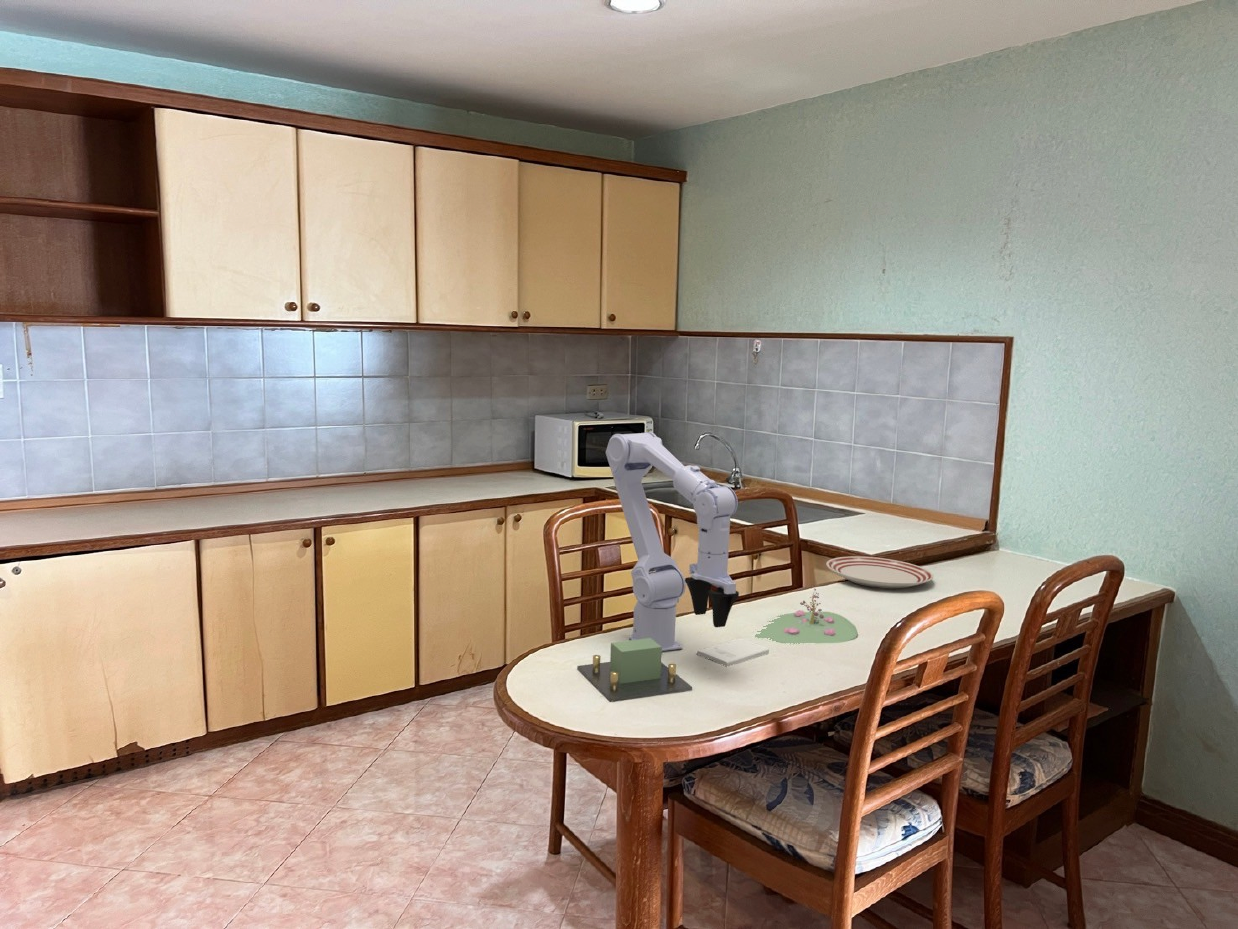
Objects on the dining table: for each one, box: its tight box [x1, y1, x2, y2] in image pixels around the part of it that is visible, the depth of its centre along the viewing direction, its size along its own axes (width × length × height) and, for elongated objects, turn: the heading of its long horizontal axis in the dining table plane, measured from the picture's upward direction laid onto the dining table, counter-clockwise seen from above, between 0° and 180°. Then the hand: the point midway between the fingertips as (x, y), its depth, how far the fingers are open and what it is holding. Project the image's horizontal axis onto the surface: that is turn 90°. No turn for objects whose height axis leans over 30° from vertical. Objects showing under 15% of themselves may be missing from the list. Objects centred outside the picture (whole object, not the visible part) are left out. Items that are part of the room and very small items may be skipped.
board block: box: [609, 638, 663, 684], centre depth 168 cm, size 5×8×6 cm, turn 114°
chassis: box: [576, 654, 693, 703], centre depth 168 cm, size 16×16×4 cm
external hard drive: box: [696, 637, 770, 668], centre depth 184 cm, size 2×8×12 cm
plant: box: [754, 588, 859, 645], centre depth 199 cm, size 25×21×9 cm
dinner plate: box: [825, 555, 934, 590], centre depth 243 cm, size 28×27×3 cm
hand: (709, 620), depth 175 cm, fingers open, 7 cm apart
